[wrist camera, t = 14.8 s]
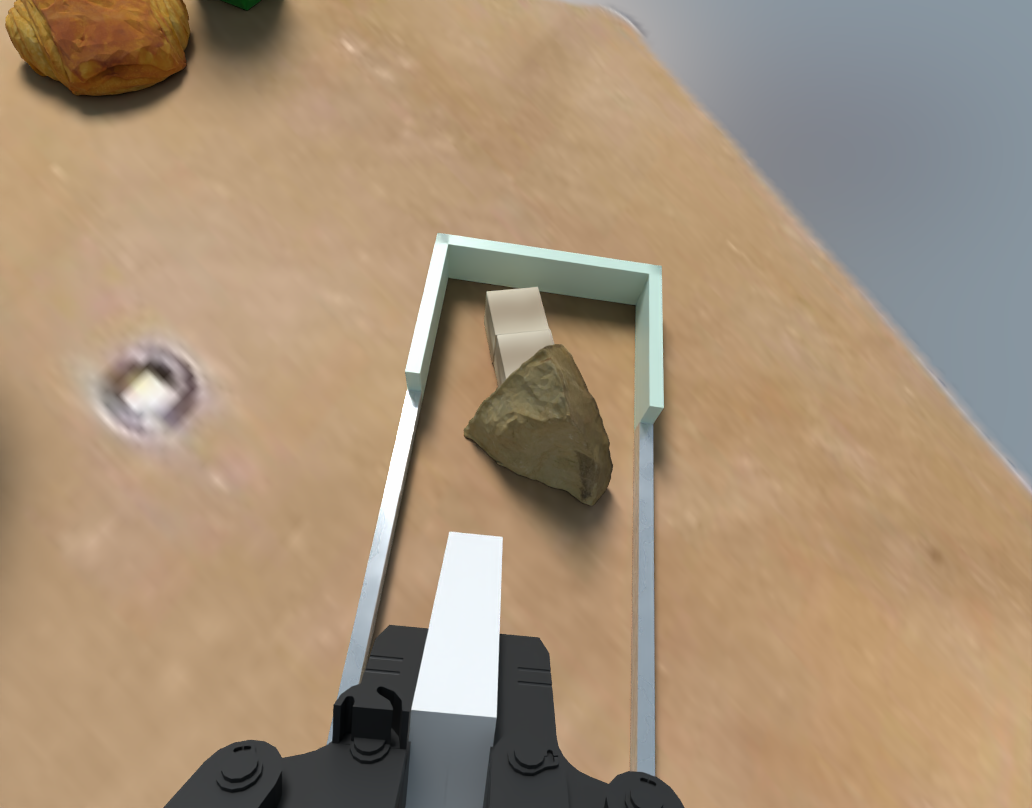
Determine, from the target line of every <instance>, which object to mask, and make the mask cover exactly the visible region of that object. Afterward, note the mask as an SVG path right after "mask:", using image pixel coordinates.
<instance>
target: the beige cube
mask: <svg viewBox="0 0 1032 808" xmlns="http://www.w3.org/2000/svg"><path fill="white" fill-rule="evenodd" d="M484 325H485V330H486V335H487V340H488V345H489V350H490V355H491V360H492V364H494V356H495V347H496V338H497V335H502V334H511V333H521V332H531V331H540V330H549V327H548V323H547V319H546V315H545V312H544V308H543V304H542V300H541V296H540V293H539V289H538V287H531V288H520V289H509V290H498V291H487V292H486V303H485V316H484Z"/></svg>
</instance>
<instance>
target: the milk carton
mask: <svg viewBox="0 0 1032 808" xmlns="http://www.w3.org/2000/svg"><path fill="white" fill-rule="evenodd" d="M221 1H224V2H227V3H229V4H232V5H234V6H237V7H239V8H242V9H244V10H249V9H250V8H251V7H253V6H254V5H256V4H257V3H258V2H260V1H261V0H221Z"/></svg>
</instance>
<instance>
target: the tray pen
mask: <svg viewBox="0 0 1032 808" xmlns="http://www.w3.org/2000/svg"><path fill="white" fill-rule="evenodd" d="M448 278H453V279H460V280H466V281H473V282H480V283H487V284H494V285H501V286H507V287H514V288H531V287H538V289H539V291H542V292H548V293H555V294H562V295H569V296H576V297H582V298H589V299H596V300H603V301H610V302H617V303H623V304H630V305H636V314H635V398H634V430H635V429H636V427H637V426H638V424H639V422H642V423H649V424H653V423H654V422H655V420H656V419H657V417H658V416H659V414H660V413H661V411H662V410H663V408H664V392H663V327H662V266H657V265H651V264H644V263H637V262H631V261H624V260H617V259H610V258H604V257H597V256H590V255H584V254H577V253H570V252H563V251H557V250H550V249H543V248H536V247H530V246H523V245H516V244H510V243H503V242H496V241H489V240H483V239H476V238H469V237H463V236H456V235H449V234H442V233H437V238H436V242H435V246H434V250H433V255H432V259H431V263H430V268H429V272H428V276H427V280H426V285H425V289H424V293H423V297H422V302H421V306H420V310H419V315H418V319H417V323H416V327H415V332H414V336H413V340H412V344H411V349H410V353H409V357H408V362H407V366H406V370H405V374H406V381H407V389H408V390H414V391H421V393H422V400H423V396H424V391H425V386H426V382H427V377H428V372H429V367H430V363H431V358H432V353H433V348H434V344H435V339H436V334H437V330H438V325H439V320H440V315H441V311H442V306H443V301H444V296H445V292H446V287H447V282H448Z"/></svg>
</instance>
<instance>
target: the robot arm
mask: <svg viewBox="0 0 1032 808" xmlns="http://www.w3.org/2000/svg"><path fill="white" fill-rule="evenodd" d="M502 541H503V537H497V536H487V535H477V534H467V533H457V532H449V537H448V541H447V546H446V551H445V555H444V560H443V565H442V569H441V574H440V578H439V583H438V588H437V592H436V597H435V602H434V606H433V611H432V616H431V620H430V625H429V629H427V628H416V627H406V626H395V625H389V626H388V627H387V628H386V629H385V630H384V631H383V632H382V633H381V634H380V635H379V636H378V637H377V638H376V639H375V642H374V645H373V648H372V651H371V654H370V658H369V660H368V662H367V665H366V668H365V672H364V674H363V677H362V680H361V683H360V684H358V685H355V686H352V687H350V688H349V689H347V690H346V691H345V692H343V693H342V694H341V695H340V696H339V698H338V699H337V701H336V702H335V704H334V708H333V734H332V742H330V743H329V744H328V745H326V746H324V747H322V748H320V749H318V750H316V751H312V752H309V753H305V754H301V755H296V756H291V757H285V758H282V757H281V755H280V754H279V752H278V750H277V749H276V747H274V746H272V745H270V744H268V743H267V742H265V741H256V740H247V741H241V742H235V743H233V744H230V745H228V746H226V747H224V748H222V749H220V750H218V751H217V752H216V753H214V754H213V755H212V756H211V757H210V758H208V759H207V760H206V761H205V762H204V763H203V764H202V765H201V766H200V768H199V769H198V770H197V771H196V772H195V773H194V774H193V775H192V776H191V778H190V779H189V780H188V781H187V782H186V783H185V784H184V785H183V786H182V788H181V789H180V790H179V791H178V792H177V793H176V794H175V795H174V796H173V798H172V799H171V800H170V801H169V802H168V803H167V804H166V805H165V806H164V808H684V806H683V804H682V802H681V801H680V799H679V798H678V796H677V795H676V794H675V792H674V791H673V790H672V789H671V787H670V786H668V785H667V784H666V783H664V782H663V781H662V780H660V779H659V778H657V777H655V776H652V775H650V774H647V773H644V772H634V771H628V772H625V773H622V774H620V775H617V776H616V777H615V778H614V779H613V780H612V781H611V782H610V783H609V784H607V783H605V782H602V781H600V780H597V779H595V778H592V777H590V776H588V775H586V774H584V773H582V772H580V771H578V770H577V769H576V768H575V767H573V766H572V765H571V764H570V763H569V762H568V761H567V760H566V759H565V757H564V756H563V754H562V752H561V750H560V749H559V746H558V742H557V736H556V725H555V714H554V703H553V691H552V680H551V673H550V671H551V669H550V657H549V652H548V651H547V649H546V648H545V646H544V644H543V643H542V641H541V640H540V638H538V637H528V636H517V635H506V634H499V631H500V601H501V571H502Z"/></svg>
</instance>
